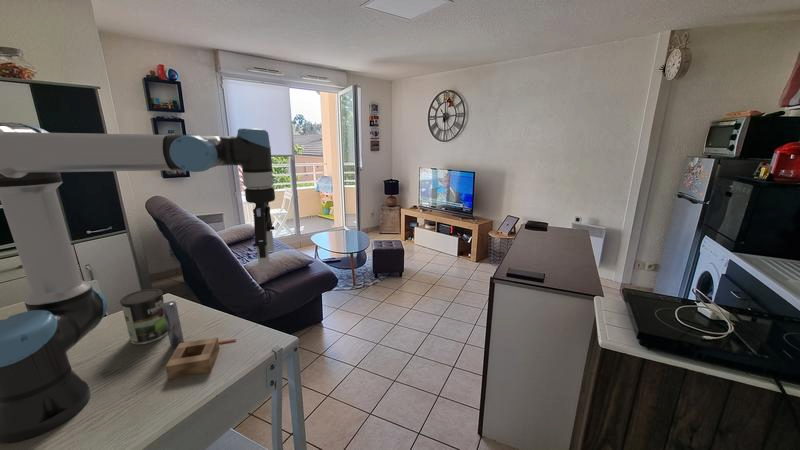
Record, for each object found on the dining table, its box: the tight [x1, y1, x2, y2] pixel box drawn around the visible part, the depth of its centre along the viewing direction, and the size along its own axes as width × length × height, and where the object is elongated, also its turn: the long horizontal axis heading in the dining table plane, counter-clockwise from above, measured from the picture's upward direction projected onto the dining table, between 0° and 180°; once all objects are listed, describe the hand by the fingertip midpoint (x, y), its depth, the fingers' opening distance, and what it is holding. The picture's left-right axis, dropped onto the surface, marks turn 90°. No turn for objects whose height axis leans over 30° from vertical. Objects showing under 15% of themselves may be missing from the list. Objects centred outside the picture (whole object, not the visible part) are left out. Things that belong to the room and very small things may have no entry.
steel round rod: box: [162, 300, 185, 349], centre depth 94 cm, size 3×3×14 cm
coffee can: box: [119, 288, 168, 346], centre depth 98 cm, size 10×10×14 cm
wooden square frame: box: [165, 336, 220, 380], centre depth 87 cm, size 10×10×4 cm
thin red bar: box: [218, 338, 237, 345], centre depth 96 cm, size 14×1×1 cm, turn 107°
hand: (267, 258), depth 90 cm, fingers open, 13 cm apart
